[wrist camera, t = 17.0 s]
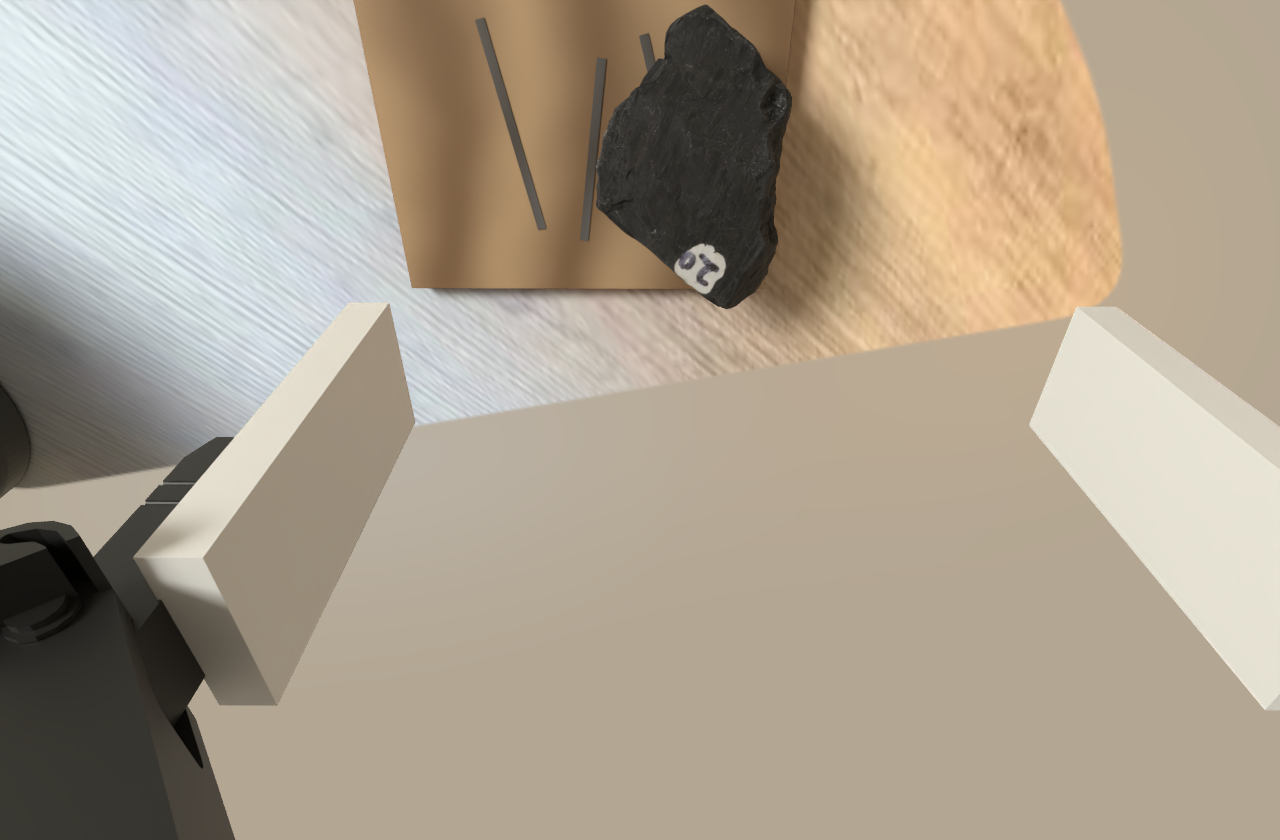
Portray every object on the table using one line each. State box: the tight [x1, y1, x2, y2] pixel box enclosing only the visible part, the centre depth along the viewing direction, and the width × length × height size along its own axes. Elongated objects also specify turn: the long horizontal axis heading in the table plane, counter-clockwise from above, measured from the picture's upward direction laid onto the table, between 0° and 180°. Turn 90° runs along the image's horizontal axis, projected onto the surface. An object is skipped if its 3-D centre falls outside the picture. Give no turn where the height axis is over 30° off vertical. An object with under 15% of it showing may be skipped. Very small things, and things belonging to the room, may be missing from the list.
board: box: [354, 0, 795, 289], centre depth 31 cm, size 18×14×1 cm
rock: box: [596, 4, 792, 309], centre depth 29 cm, size 9×10×6 cm
